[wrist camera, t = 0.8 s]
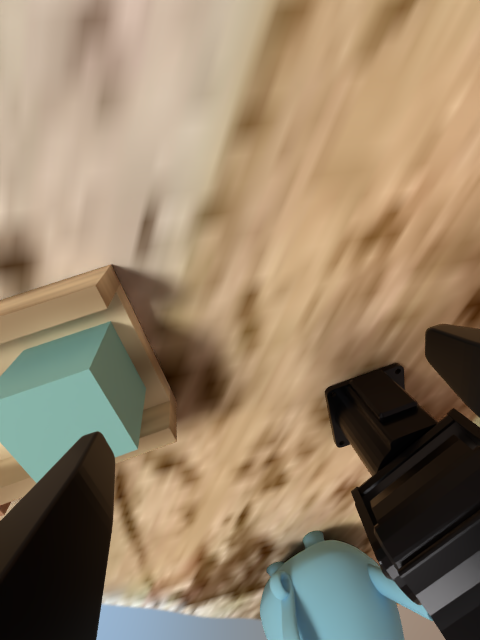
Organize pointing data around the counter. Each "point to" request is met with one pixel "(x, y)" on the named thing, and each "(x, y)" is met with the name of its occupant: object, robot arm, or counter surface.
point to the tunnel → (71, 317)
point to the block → (70, 398)
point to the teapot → (332, 596)
